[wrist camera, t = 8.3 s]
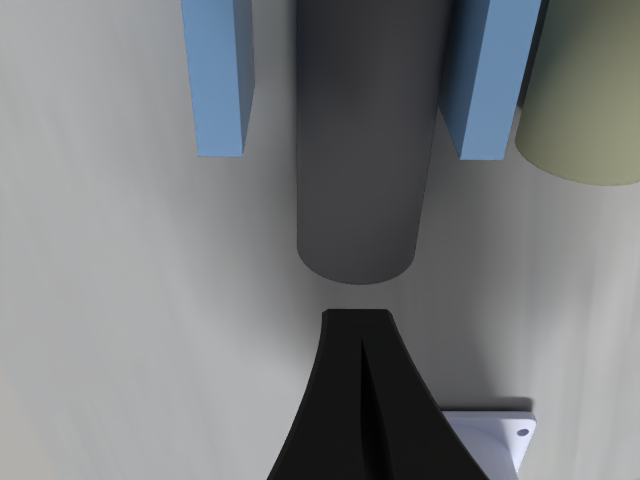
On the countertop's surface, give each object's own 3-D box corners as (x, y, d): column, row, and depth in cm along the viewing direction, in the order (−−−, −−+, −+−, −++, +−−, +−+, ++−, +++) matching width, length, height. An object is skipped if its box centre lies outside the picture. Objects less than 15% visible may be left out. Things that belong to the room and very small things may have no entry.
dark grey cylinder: (388, 204, 20) (434, 272, 18) (284, 220, 19) (316, 294, 17) (428, -148, 14) (508, -127, 11) (279, -147, 13) (327, -124, 11)
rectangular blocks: (880, 95, 17) (1006, 166, 14) (219, 84, 17) (198, 156, 14) (975, -57, 15) (1153, -11, 12) (205, -74, 14) (177, -30, 11)
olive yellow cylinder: (592, 113, 18) (685, 173, 16) (490, 129, 17) (569, 195, 15) (667, -114, 15) (804, -87, 12) (542, -110, 14) (661, -80, 11)
